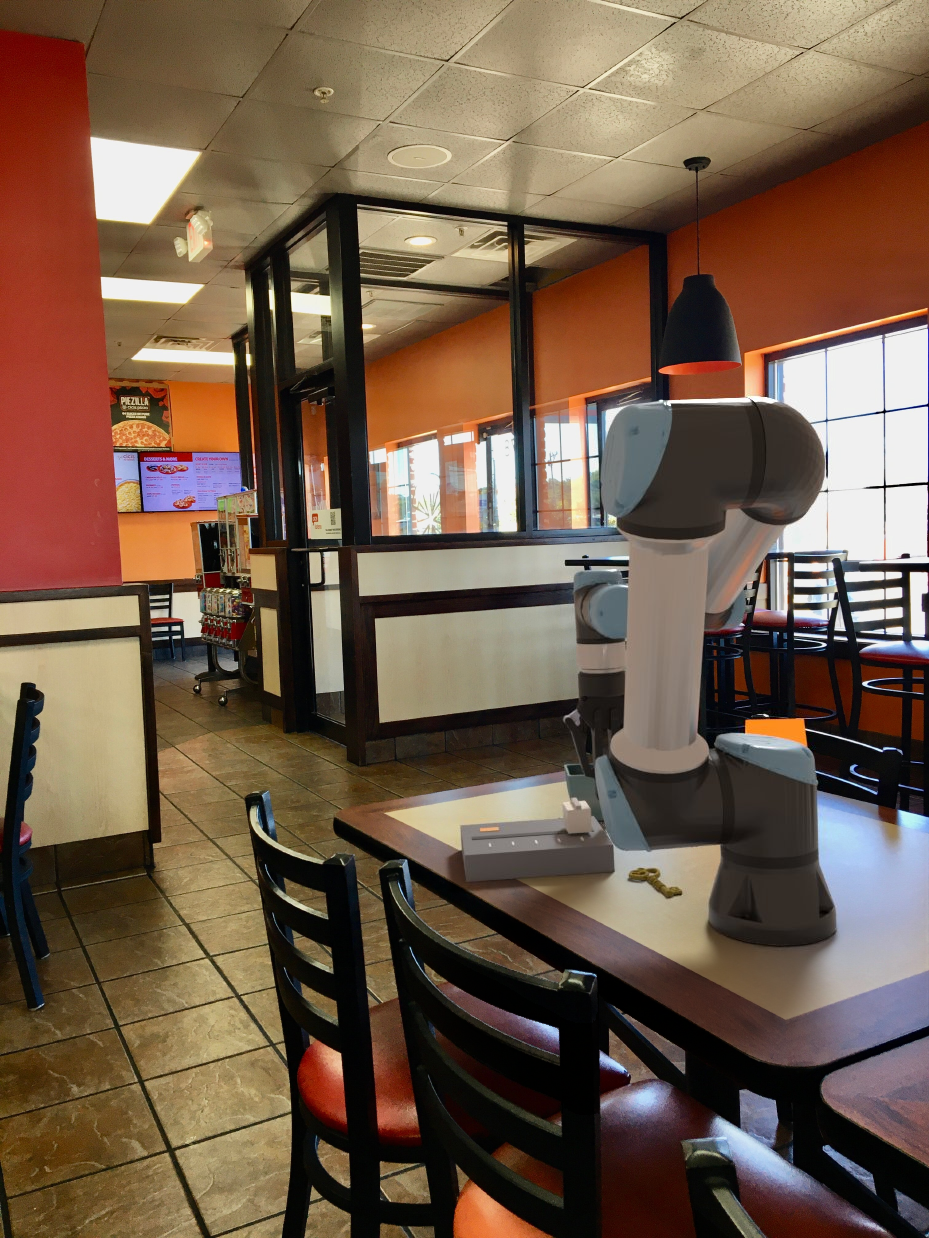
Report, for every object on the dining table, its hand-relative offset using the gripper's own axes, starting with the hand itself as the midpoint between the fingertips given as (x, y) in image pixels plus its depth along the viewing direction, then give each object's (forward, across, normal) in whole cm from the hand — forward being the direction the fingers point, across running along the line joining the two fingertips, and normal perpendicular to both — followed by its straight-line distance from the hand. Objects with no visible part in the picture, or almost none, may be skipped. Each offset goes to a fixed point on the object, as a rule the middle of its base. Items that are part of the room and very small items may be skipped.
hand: (609, 819), depth 149 cm
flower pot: (+6, -1, -21) cm, 22 cm away
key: (+6, -3, +14) cm, 16 cm away
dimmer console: (+6, +12, 0) cm, 13 cm away
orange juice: (+6, -26, +2) cm, 27 cm away
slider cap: (+1, +5, 0) cm, 5 cm away
